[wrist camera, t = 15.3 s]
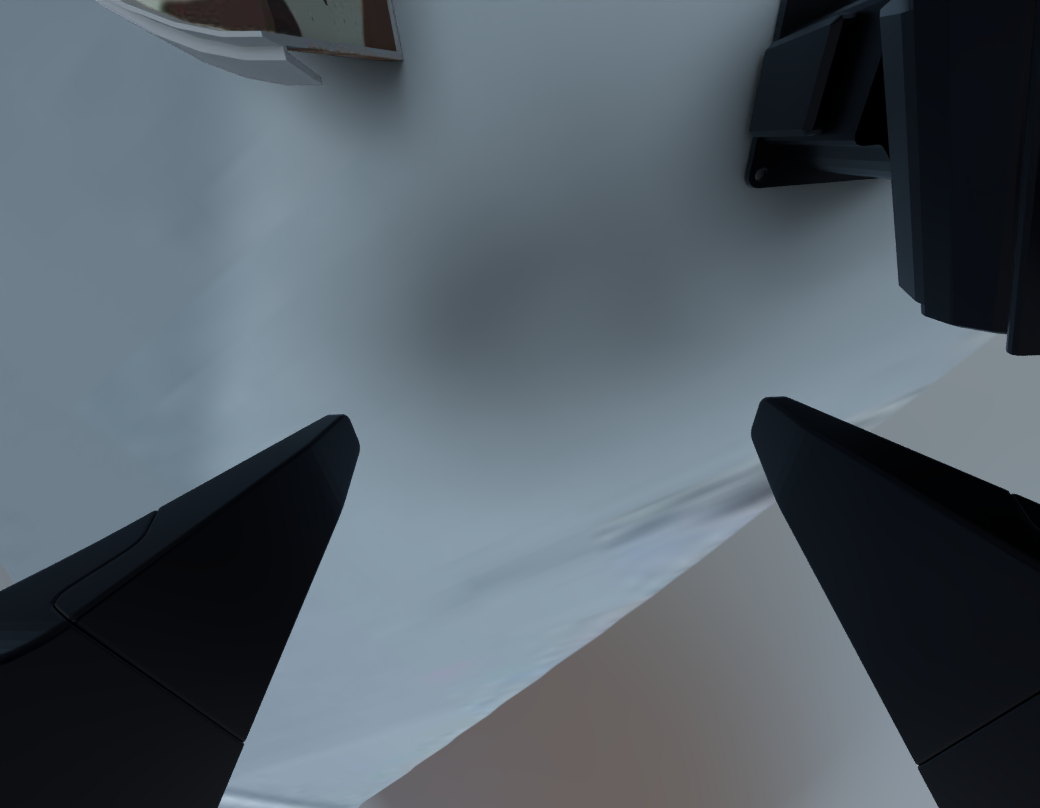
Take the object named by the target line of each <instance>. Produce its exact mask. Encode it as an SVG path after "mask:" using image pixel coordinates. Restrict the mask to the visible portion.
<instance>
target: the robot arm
mask: <svg viewBox="0 0 1040 808" xmlns="http://www.w3.org/2000/svg"><path fill="white" fill-rule="evenodd" d="M749 131H750V133H751V134H752V136H753V140H752V145H751V150H750V154H749V159H748V164H747V168H746V173H745V181H746V184H747V185H748V186H750V187H754V188H766V187H778V186H790V185H802V184H814V183H826V182H838V181H850V180H862V179H874V178H885V179H891V183H892V196H893V210H894V224H895V239H896V253H897V267H898V280H899V286H900V287H901V288H902V289H903V290H904V291H905V292H906V293H907V294H908V295H909V296H911V297H912V298H913V299H914V300H915V301H916V302H918V303H920V304H921V313H922V314H923V315H924V316H926V317H929V318H932V319H935V320H938V321H941V322H944V323H947V324H950V325H954V326H958V327H962V328H968V329H974V330H980V331H986V332H992V333H998V334H1007V343H1006V351H1007V352H1008V353H1009V354H1012V355H1017V356H1026V355H1027V356H1028V355H1040V0H782V4H781V8H780V13H779V18H778V22H777V27H776V32H775V37H774V41H773V44H772V45H771V46H770V47H769V48H768V49H767V50H766V52H765V56H764V61H763V66H762V70H761V75H760V80H759V85H758V90H757V95H756V100H755V104H754V109H753V114H752V119H751V124H750V129H749ZM760 168H763V170H764V174H763V176H762V177H761V178H760V179H759V180H756V179H755V174H756V172H757V171H758V170H759V169H760ZM751 437H752V441H753V444H754V446H755V449H756V451H757V454H758V456H759V459H760V462H761V464H762V467H763V469H764V472H765V474H766V477H767V480H768V482H769V485H770V487H771V490H772V492H773V495H774V497H775V499H776V501H777V503H778V505H779V507H780V509H781V511H782V513H783V515H784V517H785V519H786V521H787V523H788V525H789V526H790V528H791V530H792V532H793V534H794V536H795V538H796V540H797V541H798V543H799V545H800V547H801V549H802V551H803V553H804V555H805V556H806V558H807V560H808V562H809V564H810V566H811V568H812V570H813V572H814V574H815V575H816V577H817V579H818V581H819V583H820V585H821V587H822V589H823V590H824V592H825V594H826V596H827V598H828V600H829V602H830V604H831V605H832V607H833V609H834V611H835V613H836V615H837V617H838V618H839V620H840V622H841V624H842V626H843V628H844V630H845V632H846V634H847V635H848V637H849V639H850V641H851V643H852V645H853V647H854V648H855V650H856V652H857V654H858V656H859V658H860V660H861V662H862V664H863V666H864V667H865V669H866V671H867V673H868V675H869V677H870V679H871V680H872V682H873V684H874V686H875V688H876V690H877V692H878V694H879V696H880V697H881V699H882V701H883V703H884V705H885V707H886V709H887V711H888V712H889V714H890V716H891V718H892V720H893V722H894V724H895V726H896V728H897V729H898V731H899V733H900V735H901V737H902V739H903V741H904V743H905V744H906V746H907V748H908V750H909V752H910V754H911V756H912V758H913V759H914V761H915V763H916V764H917V765H919V766H918V770H919V771H920V773H921V775H922V777H923V779H924V781H925V783H926V784H927V787H928V788H929V790H930V792H931V794H932V796H933V798H934V800H935V801H936V803H937V805H938V807H939V808H1040V504H1038V503H1036V502H1034V501H1031V500H1029V499H1027V498H1024V497H1022V496H1020V495H1017V494H1010V493H1009V491H1007V490H1005V489H1003V488H1001V487H998V486H996V485H993V484H991V483H989V482H986V481H984V480H981V479H979V478H977V477H974V476H972V475H970V474H968V473H965V472H962V471H960V470H958V469H956V468H953V467H951V466H949V465H946V464H944V463H941V462H939V461H937V460H934V459H932V458H930V457H927V456H925V455H923V454H920V453H918V452H916V451H913V450H911V449H909V448H906V447H904V446H901V445H899V444H897V443H894V442H892V441H890V440H887V439H885V438H883V437H880V436H878V435H876V434H873V433H871V432H868V431H866V430H864V429H861V428H859V427H857V426H854V425H852V424H850V423H847V422H845V421H843V420H840V419H838V418H835V417H833V416H831V415H828V414H826V413H824V412H821V411H819V410H817V409H814V408H812V407H809V406H807V405H805V404H802V403H800V402H798V401H795V400H793V399H791V398H788V397H784V396H780V397H765V398H764V399H762V400H761V402H760V404H759V407H758V410H757V413H756V416H755V419H754V422H753V425H752V429H751ZM359 452H360V444H359V440H358V438H357V436H356V433H355V431H354V428H353V426H352V423H351V421H350V419H349V417H348V416H346V415H344V414H338V415H327V416H325V417H323V418H321V419H319V420H317V421H316V422H314V423H312V424H310V425H308V426H307V427H305V428H303V429H301V430H299V431H298V432H296V433H294V434H292V435H290V436H289V437H287V438H285V439H283V440H281V441H280V442H278V443H276V444H274V445H272V446H270V447H269V448H267V449H265V450H263V451H261V452H260V453H258V454H256V455H254V456H252V457H251V458H249V459H247V460H245V461H243V462H242V463H240V464H238V465H236V466H234V467H232V468H231V469H229V470H227V471H225V472H223V473H222V474H220V475H218V476H216V477H214V478H213V479H211V480H209V481H207V482H205V483H204V484H202V485H200V486H198V487H196V488H195V489H193V490H191V491H189V492H187V493H185V494H184V495H182V496H180V497H178V498H176V499H175V500H173V501H171V502H169V503H167V504H166V505H164V506H162V507H160V508H159V510H158V511H153V512H151V513H149V514H147V515H146V516H144V517H142V518H140V519H138V520H136V521H135V522H133V523H131V524H129V525H127V526H125V527H124V528H122V529H120V530H118V531H116V532H114V533H112V534H111V535H109V536H107V537H105V538H103V539H101V540H100V541H98V542H96V543H94V544H92V545H90V546H88V547H86V548H84V549H82V550H80V551H78V552H76V553H74V554H73V555H71V556H69V557H67V558H65V559H63V560H61V561H59V562H57V563H55V564H53V565H51V566H49V567H47V568H45V569H43V570H41V571H39V572H37V573H35V574H33V575H31V576H29V577H27V578H25V579H23V580H21V581H19V582H17V583H15V584H13V585H11V586H10V587H7V588H6V589H3V590H2V591H0V808H218V806H219V803H220V801H221V798H222V796H223V794H224V791H225V789H226V787H227V784H228V782H229V779H230V777H231V775H232V772H233V770H234V768H235V765H236V763H237V760H238V758H239V756H240V753H241V751H242V749H243V746H244V743H243V742H244V741H245V740H246V738H247V736H248V733H249V731H250V729H251V726H252V724H253V722H254V719H255V717H256V714H257V712H258V710H259V707H260V705H261V703H262V700H263V698H264V695H265V693H266V691H267V688H268V686H269V683H270V681H271V679H272V676H273V674H274V672H275V669H276V667H277V664H278V662H279V660H280V657H281V655H282V653H283V650H284V648H285V645H286V643H287V641H288V638H289V636H290V633H291V631H292V629H293V626H294V624H295V622H296V619H297V617H298V614H299V612H300V610H301V607H302V605H303V603H304V600H305V598H306V595H307V593H308V591H309V588H310V586H311V583H312V581H313V579H314V576H315V574H316V572H317V569H318V567H319V564H320V562H321V560H322V557H323V555H324V553H325V550H326V548H327V545H328V543H329V541H330V538H331V536H332V533H333V531H334V529H335V526H336V524H337V522H338V519H339V517H340V514H341V511H342V509H343V506H344V503H345V500H346V496H347V493H348V489H349V486H350V483H351V479H352V476H353V472H354V469H355V466H356V462H357V459H358V456H359Z"/></svg>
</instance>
